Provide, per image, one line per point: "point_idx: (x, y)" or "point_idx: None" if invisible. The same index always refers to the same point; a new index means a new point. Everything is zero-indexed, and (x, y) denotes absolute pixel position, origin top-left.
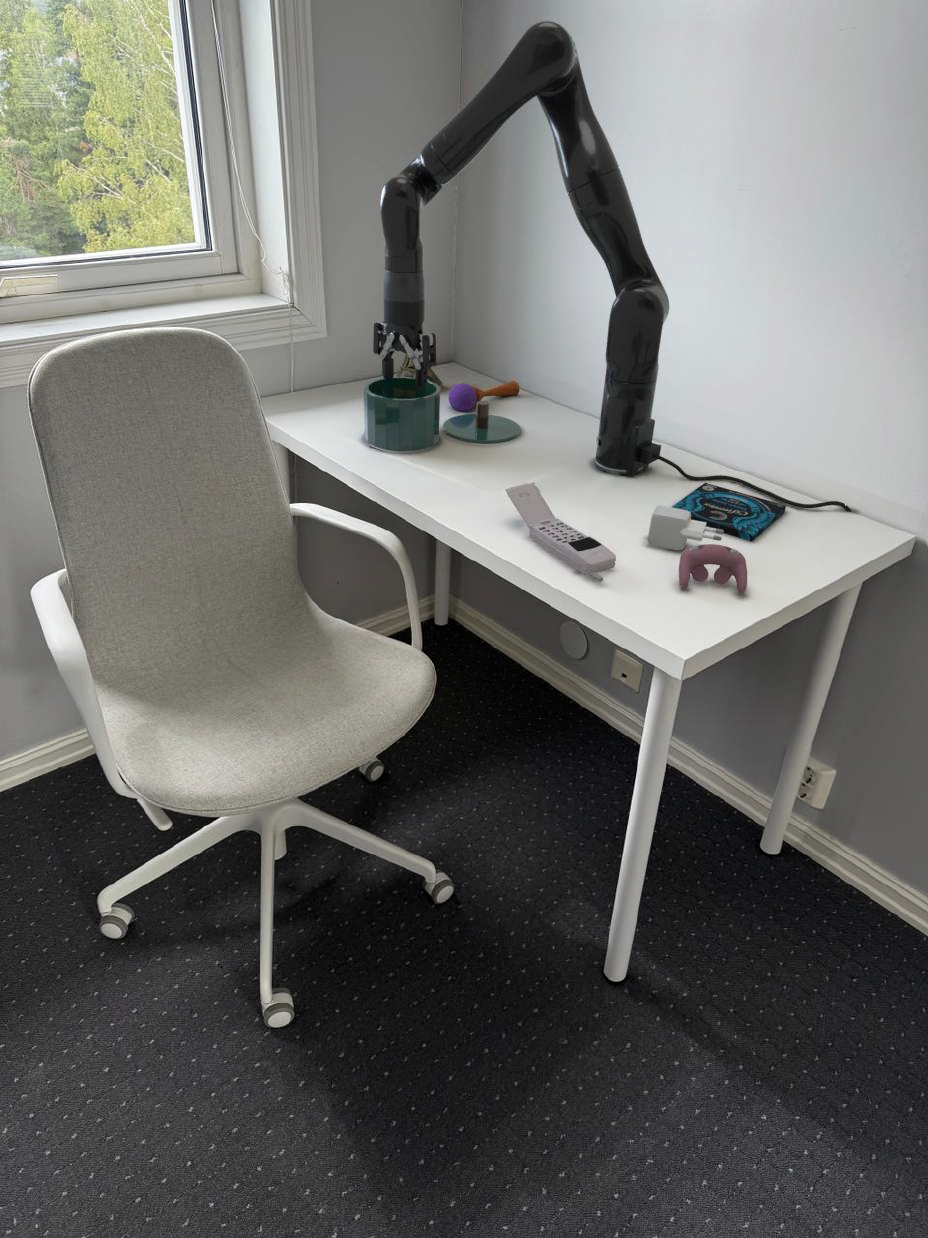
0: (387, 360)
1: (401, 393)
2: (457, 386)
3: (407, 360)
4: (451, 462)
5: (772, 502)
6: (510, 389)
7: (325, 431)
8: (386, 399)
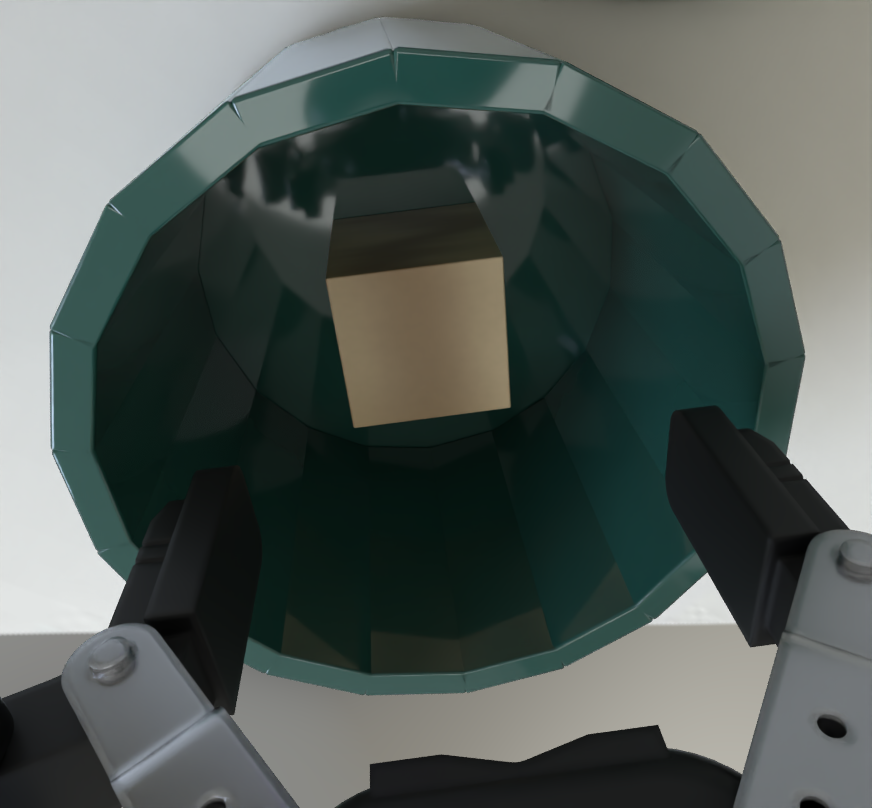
0: (228, 690)
1: (178, 215)
2: None
3: None
4: (835, 267)
5: None
6: None
7: (65, 510)
8: (566, 663)
